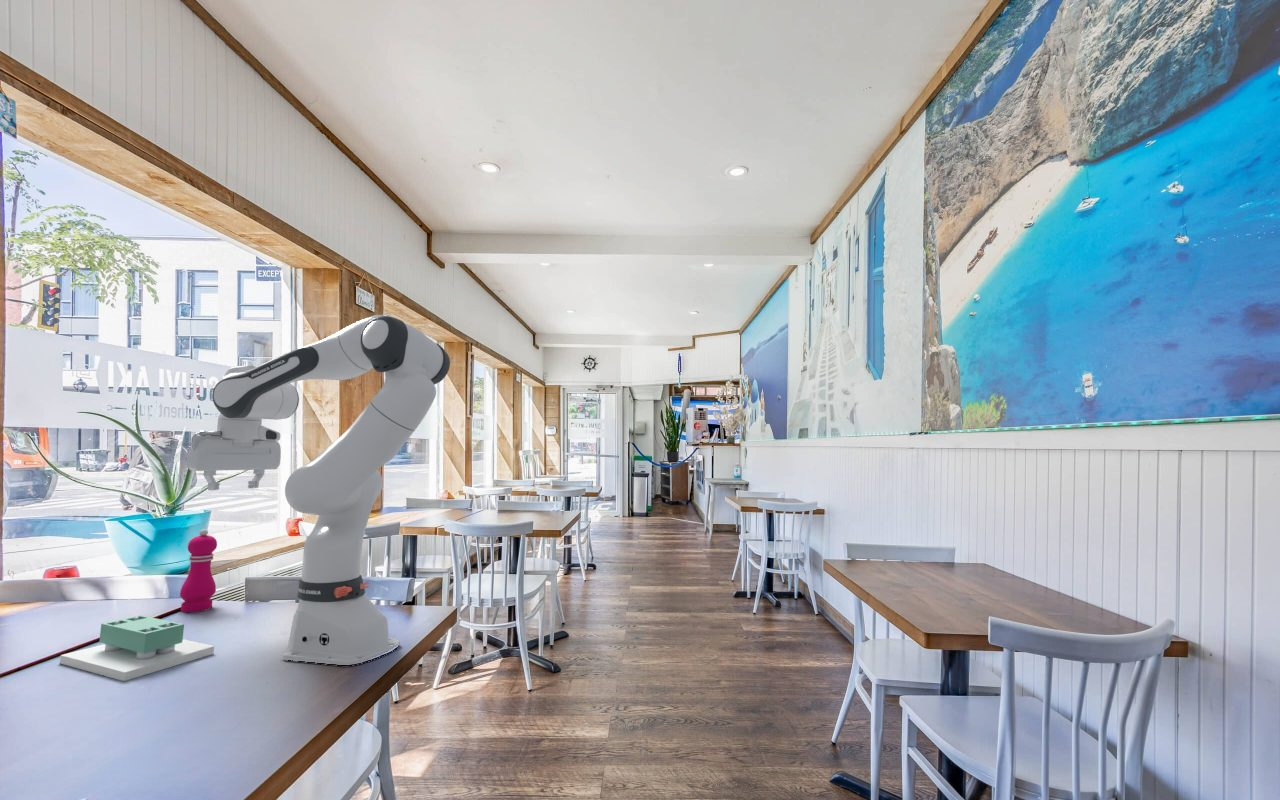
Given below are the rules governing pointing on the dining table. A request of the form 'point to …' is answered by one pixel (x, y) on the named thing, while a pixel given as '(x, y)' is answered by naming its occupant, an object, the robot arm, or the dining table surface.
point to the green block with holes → (141, 634)
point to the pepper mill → (199, 574)
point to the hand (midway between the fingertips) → (233, 489)
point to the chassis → (134, 658)
